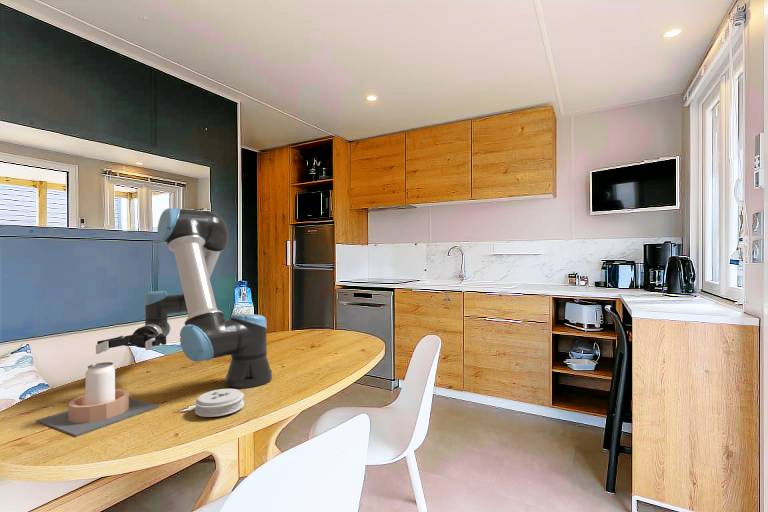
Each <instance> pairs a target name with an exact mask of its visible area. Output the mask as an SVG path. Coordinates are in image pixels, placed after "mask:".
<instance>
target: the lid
mask: <svg viewBox="0 0 768 512" xmlns="http://www.w3.org/2000/svg"><path fill="white" fill-rule="evenodd" d="M244 398H245V393H243V392H242V391H241V390H239V389H238V388H237V389H236V388H220V389H215V390H211V391H207V392H205V393H202V394H201V395H199V396H198V397H197V398H196V399H195V400H194V405H195V409H194V414H195V415H197V416H199V417H205V418H211V417H221V416H222V417H223V416H227V415H229V414H233V413H235V412H238V411H239V410H241V409H242V408H243V407H244V406H245V401H244Z"/></svg>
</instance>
